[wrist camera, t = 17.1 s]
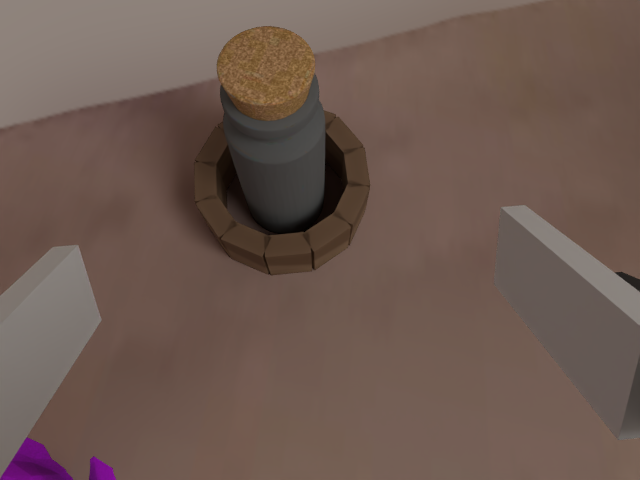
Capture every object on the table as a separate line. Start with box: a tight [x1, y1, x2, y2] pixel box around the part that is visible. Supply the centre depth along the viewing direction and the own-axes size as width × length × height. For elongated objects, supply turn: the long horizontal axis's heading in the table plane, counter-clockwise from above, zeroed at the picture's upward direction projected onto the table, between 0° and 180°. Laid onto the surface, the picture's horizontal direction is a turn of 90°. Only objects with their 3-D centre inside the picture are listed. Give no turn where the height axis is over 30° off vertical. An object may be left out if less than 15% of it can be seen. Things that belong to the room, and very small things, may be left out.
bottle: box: [217, 26, 325, 234], centre depth 30 cm, size 6×6×15 cm
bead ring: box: [194, 110, 370, 275], centre depth 35 cm, size 12×12×4 cm
